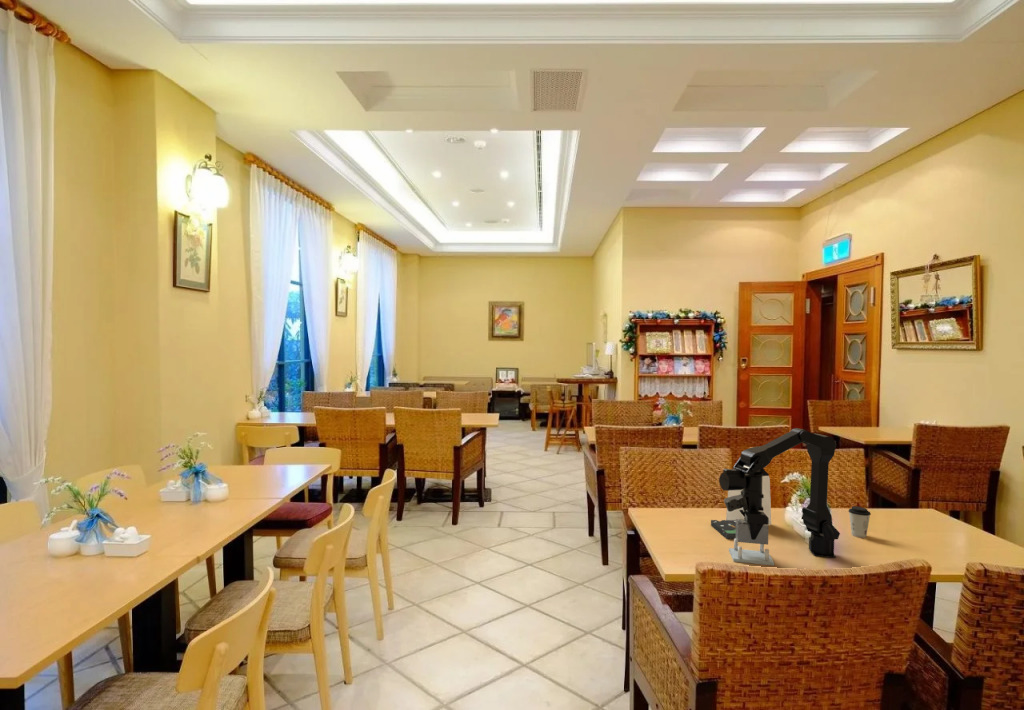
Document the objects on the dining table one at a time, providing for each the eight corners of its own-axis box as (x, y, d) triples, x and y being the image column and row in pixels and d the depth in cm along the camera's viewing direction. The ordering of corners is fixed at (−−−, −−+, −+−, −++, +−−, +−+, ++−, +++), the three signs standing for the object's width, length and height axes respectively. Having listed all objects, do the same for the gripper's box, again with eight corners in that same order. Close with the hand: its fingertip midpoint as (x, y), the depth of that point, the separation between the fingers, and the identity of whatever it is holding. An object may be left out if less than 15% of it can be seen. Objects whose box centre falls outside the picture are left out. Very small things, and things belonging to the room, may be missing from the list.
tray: (767, 554, 177) (767, 541, 177) (774, 565, 169) (774, 551, 168) (728, 551, 180) (729, 537, 180) (733, 561, 171) (733, 547, 171)
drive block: (765, 539, 175) (765, 521, 175) (768, 544, 171) (768, 525, 171) (735, 537, 178) (735, 518, 177) (737, 542, 173) (738, 523, 173)
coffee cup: (873, 539, 193) (874, 512, 193) (852, 538, 194) (853, 510, 194) (865, 533, 200) (865, 506, 199) (844, 531, 201) (845, 505, 201)
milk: (771, 524, 208) (772, 457, 207) (754, 530, 201) (755, 461, 201) (742, 516, 218) (744, 452, 217) (725, 521, 211) (727, 455, 211)
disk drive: (710, 527, 206) (726, 540, 191) (710, 519, 206) (726, 532, 191) (736, 527, 206) (755, 540, 192) (736, 519, 206) (755, 532, 191)
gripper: (721, 480, 185) (721, 525, 185) (730, 495, 167) (729, 545, 167) (756, 482, 182) (756, 528, 183) (769, 497, 164) (768, 548, 164)
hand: (751, 537), depth 174 cm, fingers closed on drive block, 4 cm apart
